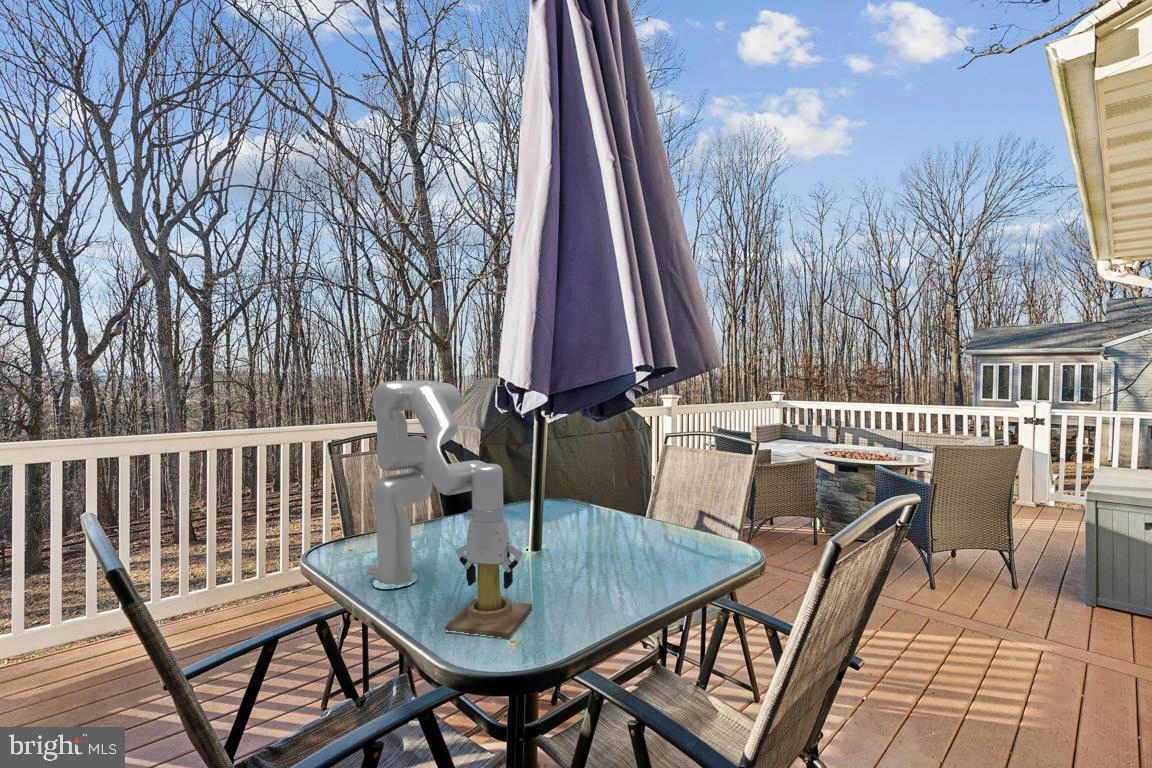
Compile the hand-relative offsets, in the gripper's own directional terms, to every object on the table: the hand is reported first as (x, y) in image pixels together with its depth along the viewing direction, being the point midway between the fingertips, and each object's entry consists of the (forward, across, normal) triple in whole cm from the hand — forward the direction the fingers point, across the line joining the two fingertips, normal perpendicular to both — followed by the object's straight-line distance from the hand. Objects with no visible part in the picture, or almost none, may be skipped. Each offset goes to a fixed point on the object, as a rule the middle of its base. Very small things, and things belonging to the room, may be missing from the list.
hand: (489, 585), depth 131 cm
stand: (+9, 0, 0) cm, 9 cm away
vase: (+7, 0, 0) cm, 7 cm away
